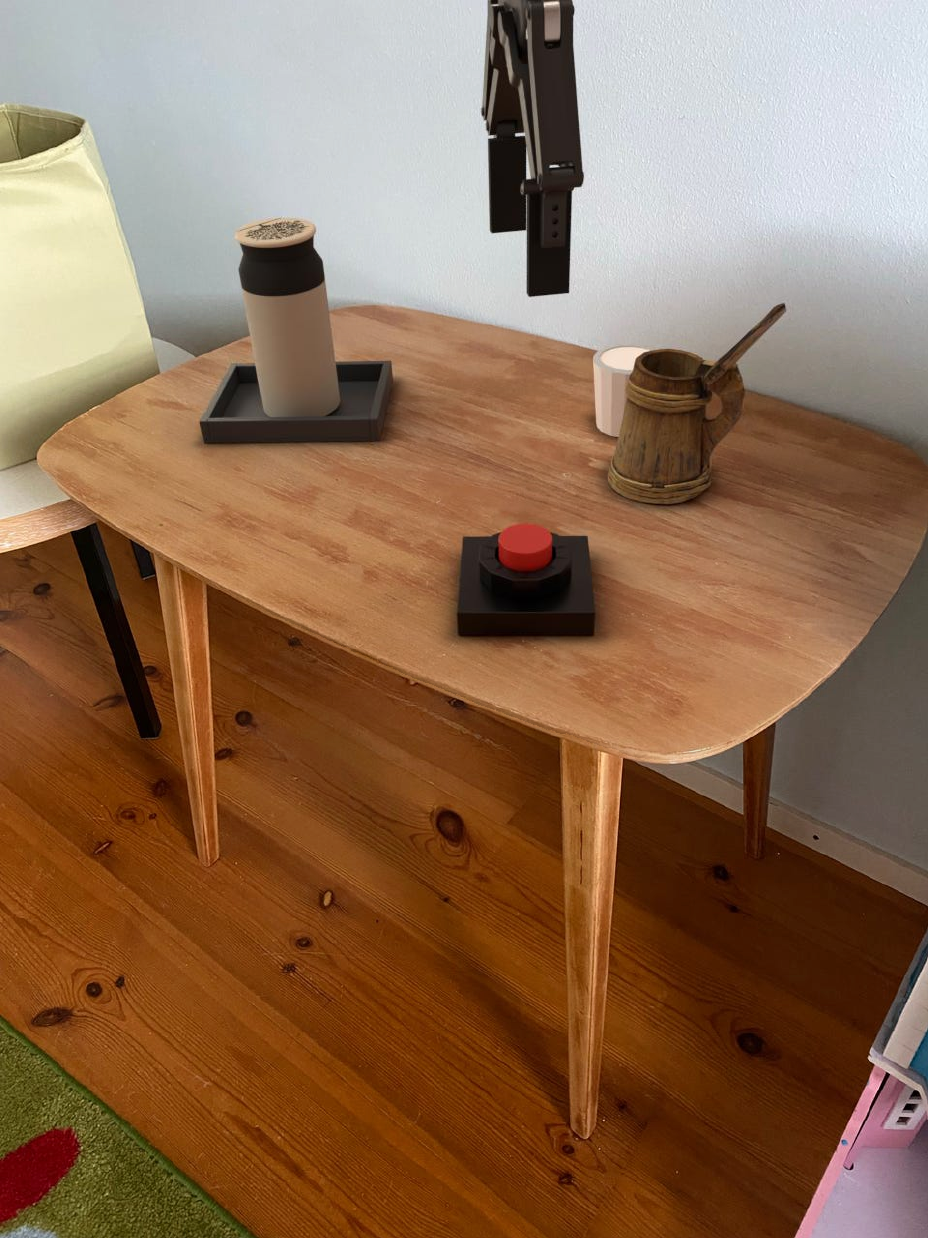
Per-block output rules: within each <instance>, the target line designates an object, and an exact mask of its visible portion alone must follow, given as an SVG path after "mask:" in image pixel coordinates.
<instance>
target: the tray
mask: <svg viewBox="0 0 928 1238" xmlns="http://www.w3.org/2000/svg"><path fill="white" fill-rule="evenodd" d="M335 363H336V371H337V379H338V386H339V394H340V404H339V406H338V407H337V409H335V410H334V411H333V412H331V413H330V414H328V415H326V416H311V417H269V416H268V415H267V414H266V413H265V412H264V410H263V404H262V398H261V393H260V387H259V382H258V376H257V371H256V365H255V362H243V363H241V362H240V363H237V362H236V363H230V364H229V366H228V368H227V370H226V372H225V373H224V375H223V377H222V378H221V381H220V382H219V384H218V386H217V388H216V390H215V391H214V393H213V395H212V397H211V399H210V400H209V402H208V404H207V407H206V408H205V409H204V411H203V414H202V416H201V417H200V419H199V421H198V423H199V427H200V432H201V436H202V439H203V441H202V442H203V443H204V444H245V443H246V444H248V443H249V444H250V443H251V444H252V443H253V444H254V443H255V444H256V443H320V442H321V443H324V442H325V443H327V442H328V443H329V442H335V443H337V442H380V440H381V437H382V431H383V427H384V423H385V419H386V414H387V410H388V405H389V401H390V397H391V392H392V387H393V383H394V376H393V375H394V374H393V365H392V360H363V361H362V360H353V361H351V360H350V361H349V360H348V361H345V360H344V361H335Z"/></svg>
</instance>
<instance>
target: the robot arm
mask: <svg viewBox="0 0 928 1238" xmlns="http://www.w3.org/2000/svg"><path fill="white" fill-rule="evenodd" d="M574 16H575V5H574V2H573V0H487V18H486V33H485V34H486V35H485V52H484V53H485V54H484V55H485V56H484V67H483V68H484V69H483V84H482V85H483V87H482V101H481V108H480V115H481V117H482V119H483V121H485V131H487V136H491V138H489V137H488V138H487V161H488V164H487V165H488V167H487V168H488V207H489V208H488V210H489V216H488V217H489V231H490V233H491V234H501V233H512V232H513V233H514V232H525V231H526V295H527V296H528V298H533V297H543V296H554V295H564V294H570V279H571V278H570V277H571V245H572V243H571V242H572V241H571V240H572V211H573V210H572V209H573V192H574V190H575V189H577V188H582V187H583V185H584V180H585V173H584V172H585V171H583V170H584V169H583V157H582V146H581V145H582V143H581V129H580V128H581V127H580V117H579V116H580V115H579V103H578V102H579V101H578V90H577V76H576V62H575V61H576V60H575V48H574ZM516 134H524V135H516ZM492 136H493V137H492ZM527 162H528V168H529V176H530V178H527ZM551 166H554V167H551Z"/></svg>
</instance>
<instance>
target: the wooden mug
mask: <svg viewBox="0 0 928 1238" xmlns="http://www.w3.org/2000/svg"><path fill="white" fill-rule="evenodd" d="M786 312H787V307H786V303H785V302H782V303H780V304H777V305H775V306H773V307H772V309H770V311H769V312H768V313H767V314H766V315H765V316H764V317H763V318H762V319H761V320H760V322H758V323H757V324H756V325H755V326H753V327H752V328H751V329H750V330H749V331H748V332H746V334H745V335H743V337H741V339H740V340H739V341H737V343H735V344H734V345H733V346H732V347H731V348H730V349H729V350H728V351H727V352H725V354H723V355H722V356H721V357H720V358H719V359H718V360H710V359H709V360H708V359H704V358H703V357H701V356H700V355H698V354H695V353H693V352H690V351H687V350H681V349H675V348H659V349H656V350H652V351H648V352H644V353H642V354H641V355H639V356H638V357H637V358H636V360H635V364H634V368H633V372H632V373H631V374H630V377H629V380H628V382H627V385H626V388H625V393H626V396H627V400H626V405H625V410H624V415H623V419H622V424H621V428H620V433H619V437H617V441H616V446H615V450H614V454H613V455H612V457H611V459H610V463H609V468H608V472H607V482H608V483H609V485H610V487H611V488H612V489H613V490H614V491H615V492H616V493H617V494H618V495H621V496H622V497H624V498H627V499H629V500H632V501H636V502H640V503H646V504H647V503H648V504H655V505H656V504H657V505H672V504H678V503H683V502H686V501H689V500H691V499H694V498H696V497H698V496H700V494H702V493H703V492H704V491H705V490H706V489H708V488H709V487H710V485H712V473H713V462H712V461H713V460H712V457H711V455H712V453H713V451H714V450H715V449H716V447H717V446H718V444H719V443H720V442H721V441H722V440H723V439H724V438H725V437H726V436H727V435H728V434H729V433H730V432H731V430H732V429H733V428H734V427H735V426H736V424H737V423H738V421H739V420H740V419H741V415H742V412H743V410H744V407H745V395H746V390H745V385H744V381H743V376H742V373H741V371H740V368H739V364H738V363H737V362H739V360H740V359H741V358H742V357H743V356H744V355H745V354H746V353H747V352H748V351H749V349H751V348H752V347H753V345H755V344H756V342H758V340H759V339H760V338H761V337H762V336H764V334H765V333H766V332H767V331H769V329H771V327H772V326H773V325H774V324H775V323H777V322H778V321H779V319H781V317H782V316H783V315H784V314H785V313H786ZM713 393H714V394H715V395H717V396H718V397H719V398H720V401H721V405H722V406H721V411H720V413H719V414H718V415H717V416H716V417H714V418H710V419H709V418H707V405H708V404H710V402H712V399H713Z"/></svg>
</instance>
